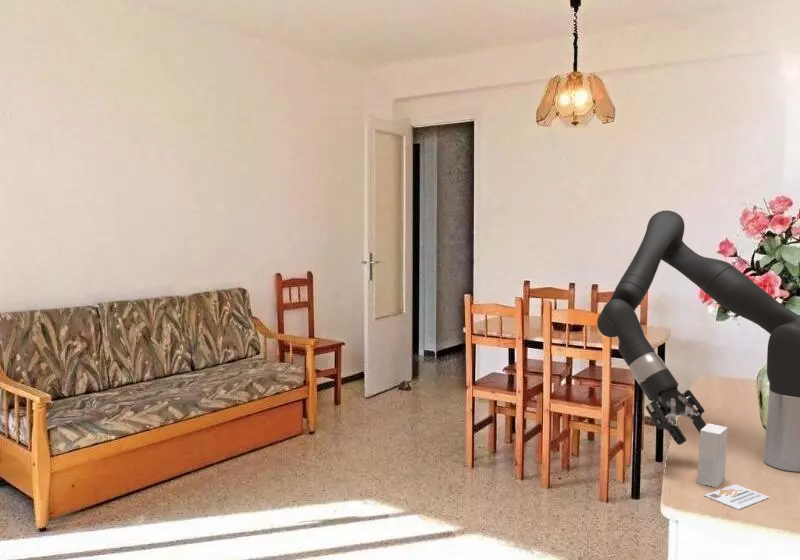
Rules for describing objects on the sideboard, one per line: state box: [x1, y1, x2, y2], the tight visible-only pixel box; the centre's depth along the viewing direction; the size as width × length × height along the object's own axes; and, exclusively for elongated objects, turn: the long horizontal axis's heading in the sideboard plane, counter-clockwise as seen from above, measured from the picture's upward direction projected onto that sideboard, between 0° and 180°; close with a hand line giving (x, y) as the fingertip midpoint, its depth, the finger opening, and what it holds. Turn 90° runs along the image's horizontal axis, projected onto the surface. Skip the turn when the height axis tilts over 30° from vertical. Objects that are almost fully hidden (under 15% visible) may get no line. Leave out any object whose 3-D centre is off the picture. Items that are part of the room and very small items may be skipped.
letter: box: [703, 484, 771, 511], centre depth 140 cm, size 11×8×1 cm
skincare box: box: [696, 423, 729, 489], centre depth 147 cm, size 6×4×12 cm
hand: (694, 438), depth 151 cm, fingers open, 8 cm apart
